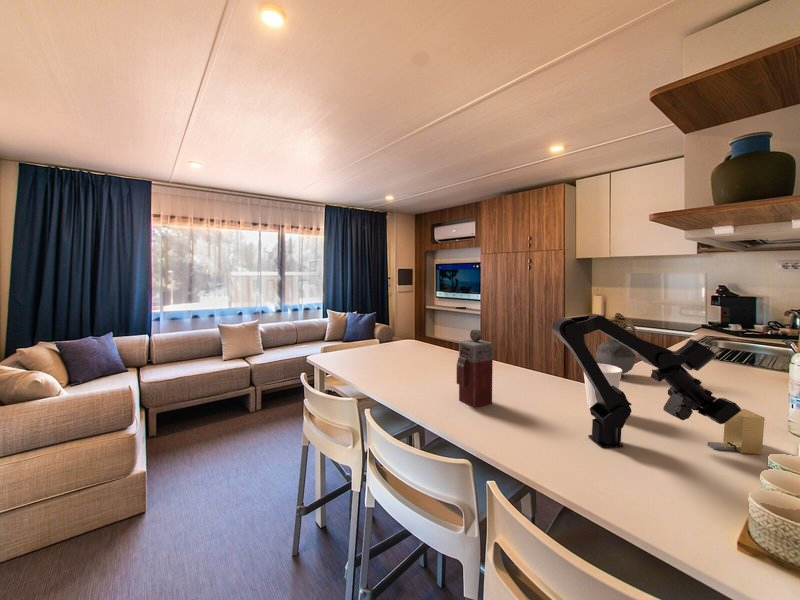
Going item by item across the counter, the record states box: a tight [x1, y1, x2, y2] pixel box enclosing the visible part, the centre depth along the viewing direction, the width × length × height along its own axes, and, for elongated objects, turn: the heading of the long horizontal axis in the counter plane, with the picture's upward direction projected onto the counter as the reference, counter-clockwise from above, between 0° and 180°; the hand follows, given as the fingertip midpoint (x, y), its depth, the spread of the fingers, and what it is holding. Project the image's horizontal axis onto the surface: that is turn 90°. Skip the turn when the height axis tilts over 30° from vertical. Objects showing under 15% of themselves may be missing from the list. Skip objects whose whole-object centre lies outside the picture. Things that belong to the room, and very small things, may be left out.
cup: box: [583, 362, 622, 412], centre depth 115 cm, size 12×12×16 cm
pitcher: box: [595, 312, 638, 379], centre depth 156 cm, size 11×19×30 cm, turn 102°
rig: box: [707, 441, 738, 452], centre depth 94 cm, size 13×9×6 cm, turn 83°
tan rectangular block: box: [722, 408, 766, 455], centre depth 91 cm, size 5×6×10 cm
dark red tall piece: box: [456, 328, 494, 409], centre depth 125 cm, size 9×11×28 cm
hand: (722, 422), depth 91 cm, fingers closed
